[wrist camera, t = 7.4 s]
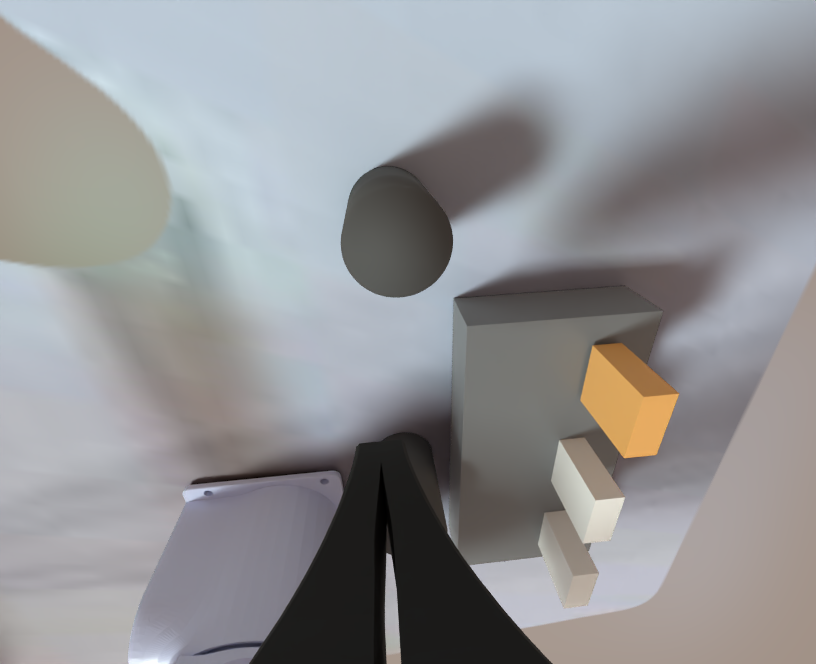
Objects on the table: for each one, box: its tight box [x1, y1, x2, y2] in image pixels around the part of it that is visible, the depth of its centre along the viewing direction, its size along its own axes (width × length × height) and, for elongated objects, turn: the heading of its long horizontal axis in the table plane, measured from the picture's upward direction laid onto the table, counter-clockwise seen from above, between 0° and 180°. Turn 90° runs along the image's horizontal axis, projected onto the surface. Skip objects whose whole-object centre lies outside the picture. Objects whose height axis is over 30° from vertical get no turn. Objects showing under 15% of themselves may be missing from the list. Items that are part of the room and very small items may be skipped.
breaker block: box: [449, 286, 663, 608], centre depth 21 cm, size 9×18×7 cm, turn 2°
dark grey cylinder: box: [341, 166, 453, 297], centre depth 15 cm, size 4×4×6 cm
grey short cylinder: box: [381, 433, 447, 555], centre depth 22 cm, size 4×4×6 cm
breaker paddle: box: [580, 343, 679, 458], centre depth 17 cm, size 1×3×4 cm, turn 2°
